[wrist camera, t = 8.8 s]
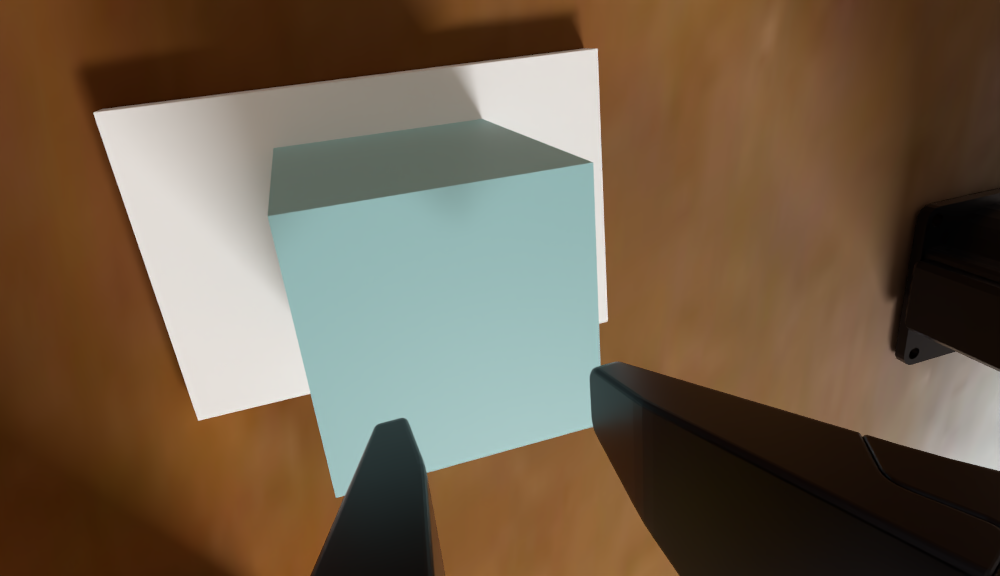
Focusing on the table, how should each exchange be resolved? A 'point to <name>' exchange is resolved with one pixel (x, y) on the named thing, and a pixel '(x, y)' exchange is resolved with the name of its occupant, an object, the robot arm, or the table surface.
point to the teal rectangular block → (439, 288)
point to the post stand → (246, 187)
